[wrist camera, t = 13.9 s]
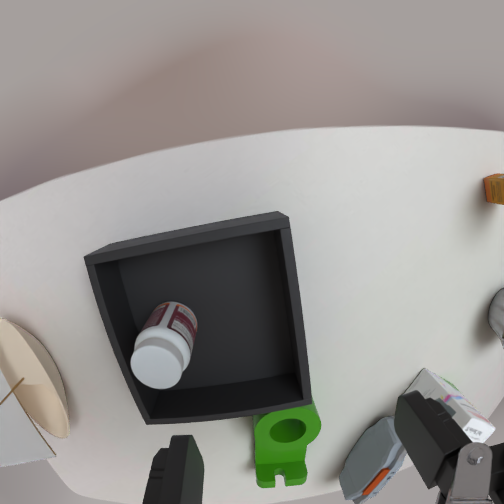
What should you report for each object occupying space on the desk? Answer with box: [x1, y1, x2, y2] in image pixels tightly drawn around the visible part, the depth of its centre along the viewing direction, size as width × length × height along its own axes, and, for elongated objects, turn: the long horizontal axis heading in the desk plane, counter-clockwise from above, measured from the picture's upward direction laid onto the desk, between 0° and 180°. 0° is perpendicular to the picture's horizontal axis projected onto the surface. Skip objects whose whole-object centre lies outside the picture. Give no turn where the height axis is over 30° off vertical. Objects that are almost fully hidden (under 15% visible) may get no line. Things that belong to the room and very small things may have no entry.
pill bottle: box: [131, 302, 197, 389], centre depth 25 cm, size 5×5×8 cm
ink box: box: [404, 368, 496, 443], centre depth 27 cm, size 9×5×15 cm, turn 57°
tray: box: [84, 211, 312, 425], centre depth 27 cm, size 18×17×6 cm
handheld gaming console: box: [339, 416, 407, 504], centre depth 31 cm, size 14×3×8 cm, turn 164°
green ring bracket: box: [253, 398, 321, 488], centre depth 31 cm, size 15×7×5 cm, turn 1°
